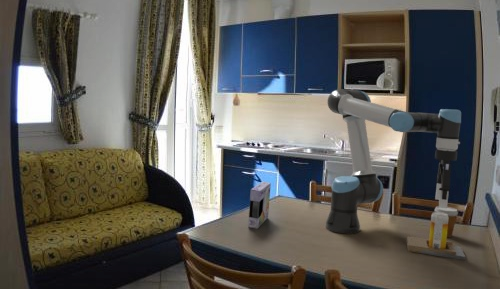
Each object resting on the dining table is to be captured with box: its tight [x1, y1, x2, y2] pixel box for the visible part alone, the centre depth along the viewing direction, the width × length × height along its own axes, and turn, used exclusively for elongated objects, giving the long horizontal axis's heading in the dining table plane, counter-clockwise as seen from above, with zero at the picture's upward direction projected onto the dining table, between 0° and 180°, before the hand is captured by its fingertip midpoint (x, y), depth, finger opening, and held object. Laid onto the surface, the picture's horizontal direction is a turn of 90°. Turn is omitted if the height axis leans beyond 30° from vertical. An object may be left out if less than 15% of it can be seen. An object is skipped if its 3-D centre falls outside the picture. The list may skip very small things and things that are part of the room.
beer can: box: [428, 211, 449, 249], centre depth 153 cm, size 6×6×15 cm
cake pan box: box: [247, 181, 272, 230], centre depth 179 cm, size 19×5×18 cm, turn 162°
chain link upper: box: [406, 235, 456, 255], centre depth 154 cm, size 17×12×2 cm
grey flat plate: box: [421, 243, 466, 261], centre depth 153 cm, size 15×12×1 cm
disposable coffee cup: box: [434, 205, 459, 238], centre depth 174 cm, size 10×10×12 cm
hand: (440, 203), depth 152 cm, fingers open, 13 cm apart
